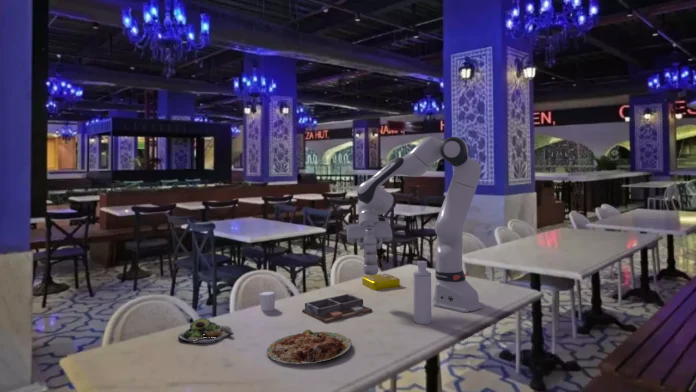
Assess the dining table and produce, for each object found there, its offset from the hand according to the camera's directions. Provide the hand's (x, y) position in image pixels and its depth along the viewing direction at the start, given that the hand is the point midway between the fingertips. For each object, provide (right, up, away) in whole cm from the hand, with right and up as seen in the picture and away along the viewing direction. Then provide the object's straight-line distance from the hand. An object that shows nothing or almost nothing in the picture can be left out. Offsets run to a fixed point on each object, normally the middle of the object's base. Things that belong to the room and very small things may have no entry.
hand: (370, 248), depth 206 cm
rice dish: (-23, -29, -48) cm, 61 cm away
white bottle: (+19, -26, -22) cm, 39 cm away
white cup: (-44, -26, -2) cm, 51 cm away
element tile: (+7, -23, +33) cm, 41 cm away
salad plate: (-62, -29, -32) cm, 75 cm away
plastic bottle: (0, -12, +1) cm, 12 cm away
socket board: (-14, -25, -8) cm, 30 cm away
